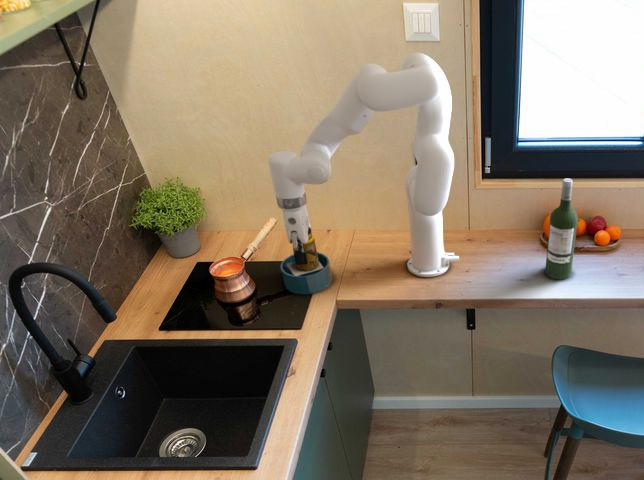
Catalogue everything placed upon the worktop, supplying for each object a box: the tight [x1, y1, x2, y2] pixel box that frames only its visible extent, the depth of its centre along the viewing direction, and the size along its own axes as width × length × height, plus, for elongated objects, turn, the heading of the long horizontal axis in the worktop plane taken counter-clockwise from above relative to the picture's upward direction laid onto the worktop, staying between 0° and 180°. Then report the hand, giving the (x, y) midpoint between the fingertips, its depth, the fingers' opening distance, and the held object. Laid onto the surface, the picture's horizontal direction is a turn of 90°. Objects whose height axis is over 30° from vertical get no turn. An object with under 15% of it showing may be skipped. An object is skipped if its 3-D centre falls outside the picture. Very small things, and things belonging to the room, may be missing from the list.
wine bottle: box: [544, 177, 579, 280], centre depth 172 cm, size 8×8×30 cm
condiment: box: [287, 227, 324, 276], centre depth 167 cm, size 7×8×12 cm
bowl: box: [280, 251, 333, 295], centre depth 172 cm, size 13×13×6 cm
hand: (303, 257), depth 169 cm, fingers closed on condiment, 6 cm apart
